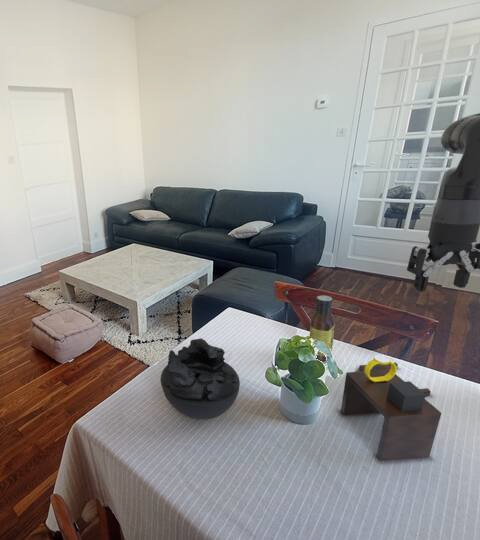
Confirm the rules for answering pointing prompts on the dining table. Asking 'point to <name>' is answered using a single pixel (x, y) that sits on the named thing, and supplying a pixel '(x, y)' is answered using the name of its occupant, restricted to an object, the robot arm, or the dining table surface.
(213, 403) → the bowl of black rocks
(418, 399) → the charcoal block
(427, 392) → the low rack
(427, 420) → the high shelf
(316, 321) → the sauce bottle
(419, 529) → the dining table surface
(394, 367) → the watch
